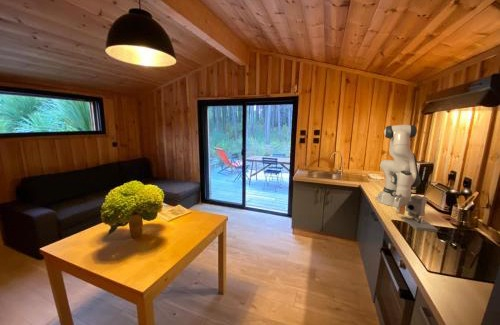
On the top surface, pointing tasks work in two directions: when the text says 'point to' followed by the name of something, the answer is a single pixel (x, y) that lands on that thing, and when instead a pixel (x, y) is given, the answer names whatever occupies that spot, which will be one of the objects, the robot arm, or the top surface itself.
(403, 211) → the wire nut
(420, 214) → the circuit breaker
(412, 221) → the junction plate
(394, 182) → the robot arm
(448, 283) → the top surface
